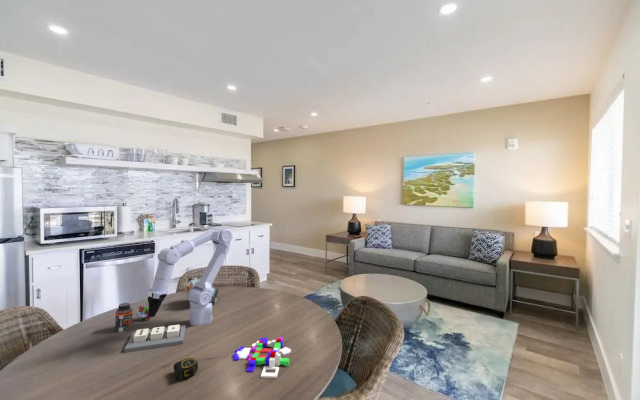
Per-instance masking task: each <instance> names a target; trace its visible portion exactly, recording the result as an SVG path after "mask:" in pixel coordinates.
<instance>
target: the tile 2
mask: <svg viewBox="0 0 640 400" xmlns="http://www.w3.org/2000/svg"><path fill="white" fill-rule="evenodd" d="M180 326H181V325H180V323H179V324H174V325H172V324H171V325H168V330H167V337H166V339H168V338H175V337H180Z"/></svg>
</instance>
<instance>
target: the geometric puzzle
mask: <svg viewBox="0 0 640 400" xmlns="http://www.w3.org/2000/svg"><path fill="white" fill-rule="evenodd" d="M148 311H149V305H148V306H147V305H146V306H145V305H140V306H139V307H138V308H137V312H136V313H135V315H136V317H140V318H139V319H138V322H141V321H144V320H147V321H150V320H151V318H152V317H148Z"/></svg>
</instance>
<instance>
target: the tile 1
mask: <svg viewBox="0 0 640 400" xmlns="http://www.w3.org/2000/svg"><path fill="white" fill-rule="evenodd" d="M164 328H166V327H165V326H158V327H152V329H153V330H152V332H151V339H150V341H153V340H160V339H164V337H165V335H164Z"/></svg>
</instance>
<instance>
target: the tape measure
mask: <svg viewBox="0 0 640 400" xmlns="http://www.w3.org/2000/svg"><path fill="white" fill-rule="evenodd" d="M198 362H199V361H197V359H196V358H193V357H187V358H184V359H181V360H179V361H177V362H176V363H174V364H173V371H174V373H175V374H176V379H177V380H178V381H181V380H183V379H184V378H185V379H186V378H190V377H192V376H193V375H195V374H196V373H197V372H198V369H199V363H198Z"/></svg>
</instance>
